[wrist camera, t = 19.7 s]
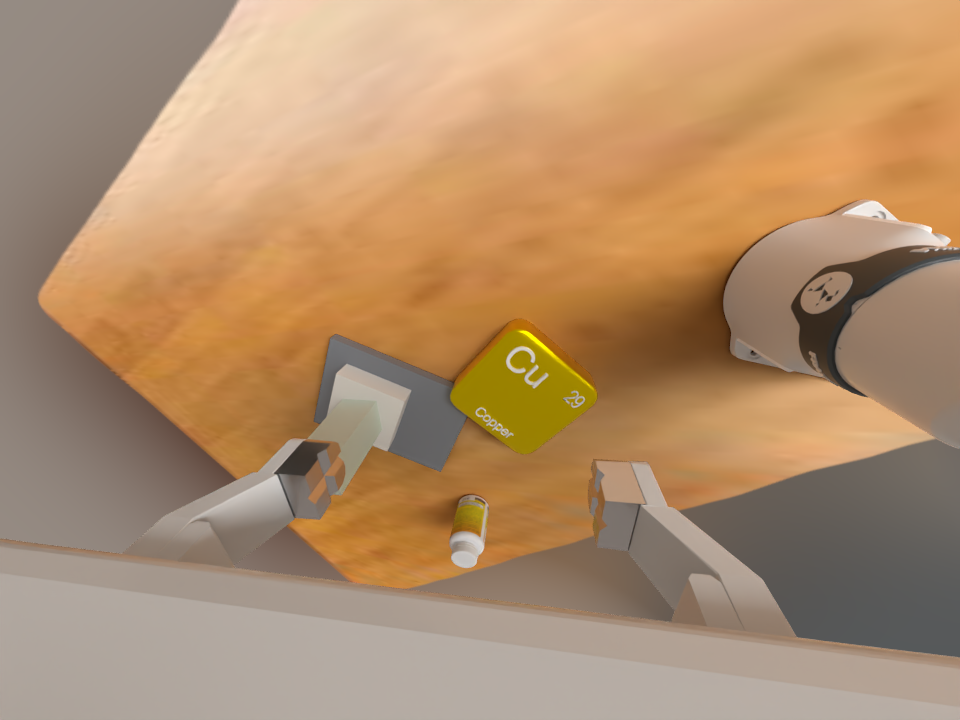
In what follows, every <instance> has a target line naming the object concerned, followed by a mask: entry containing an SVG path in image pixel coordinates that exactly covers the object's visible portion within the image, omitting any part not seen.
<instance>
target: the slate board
mask: <svg viewBox="0 0 960 720" xmlns="http://www.w3.org/2000/svg"><path fill="white" fill-rule="evenodd" d="M453 386H454V383H453V382H451V381H448V380H446V379H443V378H441V377H439V376H436V375H434V374H431V373H429V372H427V371H424V370H422V369H419V368H417V367H415V366H412V365H410V364H407V363H405V362H402V361H400V360H398V359H395V358H393V357H390V356H388V355H386V354H383V353H381V352H378V351H376V350H374V349H371V348H369V347H366V346H364V345H361V344H359V343H357V342H354V341H352V340H349V339H347V338H345V337H342V336H340V335H337V334H335V335H334V336H332V337H331V338H330V343H329V348H328V353H327V358H326V363H325V368H324V373H323V378H322V383H321V388H320V393H319V398H318V403H317V408H316V413H315V418H314V422H316V423H319V424H321V423H322V422H323V421H324V419H325V418H326V417H327V416H328V415H329V414H330V413H331V412H332V411H333V409H334V408H335V407H336V406H337V405H338V404H339V403H340V402H341V400H342V399H351V400H371V401H377V406H378V411H379V416H380V421H381V427H382V431H381V432H380V434H379V436H378V437H377V439H376V440H375V442H374V444H373V445H372V446H374V447H377V448H379V449H382V450H385V451H389V452H392V453H394V454H397V455H399V456H402V457H404V458H407V459H409V460H412V461H414V462H417V463H419V464H422V465H424V466H427V467H429V468H432V469H434V470H437V471H439V472H441V470H442V468H443V466H444V464H445V462H446V460H447V458H448V456H449V454H450V452H451V450H452V447H453V445H454V443H455V441H456V439H457V437H458V435H459V433H460V431H461V429H462V427H463V425H464V422H465V420H466V418H467V415H465V414H464V413H463V412H461V411H460V410H459V409H457V408H456V407H455V406H454V405H453V403H452V402H451V399H450V394H451V391H452V388H453Z"/></svg>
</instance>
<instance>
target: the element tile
mask: <svg viewBox="0 0 960 720" xmlns="http://www.w3.org/2000/svg"><path fill="white" fill-rule="evenodd" d="M597 396H598V393H597V390H596V387H595V384H594V381H593V379H592V376H591V375H590V374H589V373H588V372H587V371H586V370H585V369H584V368H583V367H582V366H580V365H579V364H578V363H577V362H576V361H575V360H573V359H572V358H571V357H570V356H569V355H568V354H566V353H565V352H564V351H563V350H562V349H561V348H559V347H558V346H557V345H556V344H555V343H554V342H552V341H551V340H550V339H549V338H548V337H547V336H545V335H544V334H543V333H542V332H541V331H540V330H538V329H537V328H536V327H535V326H534V325H533V324H531V323H530V322H528V321H527V320H524V319H515V320H513V321H510V322H509V323H508V324H507V325H506V326H505V327H504V328H503V329H502V330H501V331H500V332H499V333H498V334H497V335H496V336H495V337H494V338H493V339H492V341H491V342H490V343H489V344H488V345H487V346H486V347H485V348H484V349H483V350H482V351H481V352H480V353H479V354H478V355H477V356H476V357H475V358H474V359H473V361H472V362H471V363H470V364H469V365H468V366H467V367H466V368H465V369H464V370H463V371H462V372H461V373H460V374H459V375H458V377H457V378H456V381H455V383H454V386H453V388H452V391H451V394H450V399H451V402H452V403H453V405H454V406H455V407H456V408H457V409H459V410H460V411H461V412H463V413H464V414H465V415H467V416H468V417H469V418H471V419H472V420H473V421H475V422H476V423H477V424H479V425H480V426H481V427H483V428H484V429H485V430H487V431H488V432H489V433H491V434H492V435H493V436H495V437H496V438H497V439H499V440H500V441H501V442H503V443H504V444H505V445H507V446H508V447H509V448H511V449H512V450H513V451H515V452H517V453H520V454H529V453H532V452H534V451H536V450H537V449H538V448H539V447H541V446H542V445H543V444H545V443H546V442H547V441H548V440H550V439H551V438H552V437H553V436H555V435H556V434H557V433H559V432H560V431H561V430H562V429H564V428H565V427H566V426H568V425H569V424H570V423H571V422H573V421H574V420H575V419H577V418H578V417H579V416H580V415H582V414H583V413H584V412H586V411H587V410H588V409H589V408H591V407H592V406H593V405H594V404H595V402H596V400H597Z"/></svg>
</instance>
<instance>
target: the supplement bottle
mask: <svg viewBox="0 0 960 720" xmlns="http://www.w3.org/2000/svg"><path fill="white" fill-rule="evenodd" d="M488 513H489V506H488V504H487V502H486V501H485V500H484V499H483V498H481V497H479V496H476V495H467V496H464V497H462V498H461V499H460V500H459V502H458V506H457V510H456V515H455V519H454V523H453V528H452V532H451V537H450V542H449V543H450V547H451V549H452V555H451V559H452V561H453V563H454V564H456V565H457V566H460V567H463V568H470V567H473V566H474V565H475V564H476V563H477V557H478V555H480V554H481V553H482V552H483V550H484V544H485V537H486V529H487V521H488Z"/></svg>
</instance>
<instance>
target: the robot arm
mask: <svg viewBox="0 0 960 720" xmlns="http://www.w3.org/2000/svg"><path fill="white" fill-rule="evenodd" d="M931 231H932V228H931V227H928V226H925V225H921V224H915V223H909V222H902V221H899V220H898V219H896V218H895V217H894V216H893V215H892V214H891V213H890V212H889V211H888V210H887V209H886V208H884V207H883V206H882V205H881V204H880V203H879V202H877V201H873V200H866V199H864V200H859V201H856V202H854V203H852V204H849V205H847V206H845V207H843V208H841V209H840V210H838V211H836V212H834V213H832V214H830V215H826V216H822V217H817V218H811V219H806V220H802V221H798V222H795V223H792V224H789V225H787V226H785V227H782V228H780V229H778V230H776V231H774V232H773V233H771V234H769V235H768V236H766V237H765V238H763V239H762V240H761V241H759V242H758V243H757V244H756V245H754V246H753V247H752V248H751V249H750V250H749V251H748V252H747V253H746V254H745V255H744V256H743V257H742V259H741V260H740V261H739V263H738V264H737V265H736V267H735V268H734V270H733V272H732V274H731V275H730V278H729V280H728V282H727V285H726V288H725V292H724V299H723V307H724V313H725V317H726V320H727V322H728V324H729V327H730V330H731V340H730V352H731V354H732V355H734V356H735V357H737V358H739V359H742V360H747V361H751V362H755V363H760V364H764V365H769V366H773V367H778V368H781V369H783V370H785V371H787V372H792V371H796V372H800V373H805V374H809V375H814V376H818V377H823V378H825V379H826V380H828V381H830V382H831V383H833V384H835V385H836V386H840V387H841V388H843V389H846V390H848V391H850V392H852V393H854V394H857V395H860V396H864V397H869V398H871V399H873V400H874V401H876V402H877V403H879V404H881V405H882V406H884V407H886V408H887V409H889V410H891V411H892V412H894V413H895V414H897V415H899V416H900V417H902V418H904V419H905V420H907V421H909V422H910V423H912V424H914V425H915V426H917V427H919V428H920V429H922V430H923V431H925V432H927V433H928V434H930V435H932V436H933V437H935V438H936V439H938V440H940V441H941V442H943V443H946V444H948V445H950V446H953V447H956V448H959V449H960V248H957V247H948V246H946V245H948V243H950V241H951V240H950V239H949V238H948V237H946V236H944V235H941V234H937V233H933V234H932V233H931ZM752 350H753V351H754V352H753V353H751V351H752ZM340 452H341V449H340V446H339V443H337V442H334V441H323V440H312V439H298V438H293V439H290V440H289V441H288V442H287V443H286V444H285V445H284V446H283V447H282V448H281V449H280V450H279V451H278V452H277V453H276V454H275V455H274V456H273V457H272V458H271V459H270V460H269V461H268V462H267V463H266V464H265V465H264V466H263V467H262V468H261V469H260V470H259V471H258V472H257V473H251V474H249V475H246V476H244V477H242V478H240V479H238V480H236V481H234V482H232V483H230V484H228V485H226V486H224V487H222V488H220V489H218V490H216V491H214V492H212V493H210V494H208V495H206V496H204V497H202V498H200V499H198V500H196V501H194V502H192V503H190V504H188V505H186V506H184V507H181V508H179V509H178V510H175V511H173V512H172V513H169V514H167V515H166V516H164V517H163V518H161V519H160V520H159V521H158V522H157V523H156V524H155V525H154V526H152V527H151V528H150V529H149V530H148V531H147V532H146V533H145V534H143V536H141V537H140V538H139V539H138V540H137V541H136V542H134V543H133V544H132V545H131V546H130V547H129V548H128V549H127V550H125V551H124V552H123V553H122V554H119V553H110V552H102V551H93V550H86V549H78V548H70V547H62V546H54V545H46V544H38V543H29V542H22V541H15V540H9V539H0V720H960V658H959V657H950V656H942V655H934V654H925V653H918V652H909V651H901V650H893V649H884V648H876V647H869V646H861V645H852V644H844V643H836V642H828V641H820V640H811V639H804V638H797V637H796V636H795V633H794V632H793V630H792V628H791V627H790V625H789V623H788V622H787V620H786V618H785V617H784V615H783V613H782V612H781V610H780V609H779V606H778V605H777V603H776V602H775V600H774V598H773V596H772V595H771V593H770V591H769V590H768V588H767V586H766V585H765V583H764V581H763V580H762V579H761V578H760V577H759V576H757V575H756V574H755V573H754V572H752V571H751V570H750V569H749V568H748V567H746V566H745V565H744V564H743V563H741V562H740V561H739V560H738V559H737V558H735V557H734V556H733V555H732V554H730V553H729V552H728V551H727V550H725V549H724V548H723V547H722V546H720V545H719V544H718V543H717V542H715V541H714V540H713V539H712V538H711V537H709V536H708V535H707V534H706V533H704V532H703V531H702V530H700V528H698V527H697V526H696V525H695V524H693V523H692V522H691V521H689V520H688V519H687V518H686V517H685V516H683V515H682V514H681V513H680V512H679V511H677V510H676V509H675V508H674V507H668V506H667V504H666V501H665V499H664V497H663V495H662V492H661V490H660V488H659V486H658V483H657V481H656V479H655V477H654V474H653V472H652V470H651V468H650V465H649V464H648V463H647V462H639V461H617V460H600V459H593V462H592V466H591V472H592V477H593V478H591V479H590V480H589V486H588V502H589V509H590V513H591V514H592V515H593V516H594V521H593V531H594V536H595V541H596V546H597V547H599V548H607V549H614V550H623V551H629V552H628V553H629V554H630V556H631V557H632V558H633V559H634V561H635V562H636V563H637V564H638V565H639V567H640V568H641V569H642V571H643V572H644V573H645V574H646V576H647V577H648V578H649V579H650V581H651V582H652V583H653V584H654V586H655V587H656V588H657V589H658V591H659V592H660V593H661V594H662V596H663V597H664V598H665V600H666V601H667V602H668V603H669V604H670V606H671V607H672V608H673V610H674V611H675V613H674V615H673V618H672V620H671V622H667V621H658V620H650V619H643V618H635V617H627V616H619V615H611V614H603V613H595V612H587V611H578V610H570V609H562V608H554V607H546V606H538V605H530V604H521V603H513V602H505V601H497V600H489V599H480V598H473V597H464V596H456V595H448V594H440V593H432V592H423V591H416V590H408V589H400V588H392V587H384V586H376V585H368V584H360V583H352V582H344V581H336V580H327V579H320V578H312V577H304V576H295V575H287V574H280V573H271V572H264V571H255V570H247V569H239V568H235V567H234V565H235V564H237V563H238V562H239V561H240V560H242V559H243V558H244V557H246V556H247V555H248V554H250V553H251V552H252V551H253V550H255V549H256V548H257V547H259V546H260V545H261V544H263V543H264V542H265V541H266V540H268V539H269V538H271V537H272V536H273V535H274V534H276V533H277V532H278V531H280V530H281V529H282V528H283V527H285V526H286V525H288V524H289V523H290V522H292V521H293V520H294V518H305V519H319V520H320V519H321V517H322V516H323V514H324V513H325V511H326V509H327V508H328V506H329V505H330V503H331V497H330V496H331V495H333V494H334V493H336V492H337V491H339V489H340V487H341V486H342V484H343V481H344V478H345V464H344V461H343V460H342V459H341V458H340V457H339V456H338V455H339V454H340Z"/></svg>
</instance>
